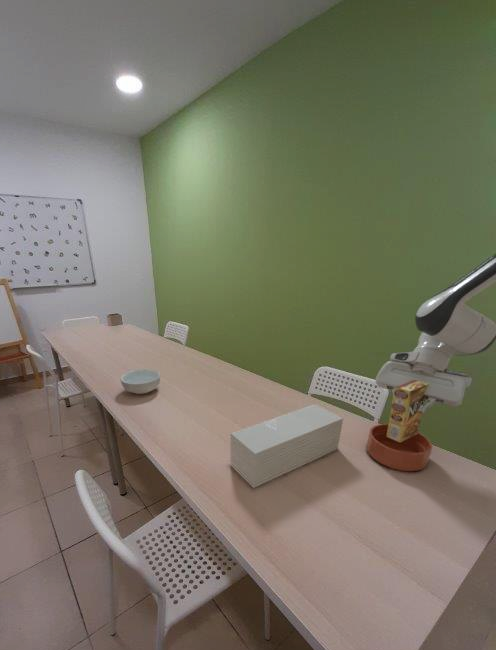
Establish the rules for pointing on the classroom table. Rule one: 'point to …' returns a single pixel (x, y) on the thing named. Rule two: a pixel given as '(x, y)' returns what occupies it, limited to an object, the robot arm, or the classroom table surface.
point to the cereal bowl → (140, 381)
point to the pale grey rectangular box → (284, 443)
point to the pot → (398, 449)
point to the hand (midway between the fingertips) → (407, 408)
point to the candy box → (406, 410)
